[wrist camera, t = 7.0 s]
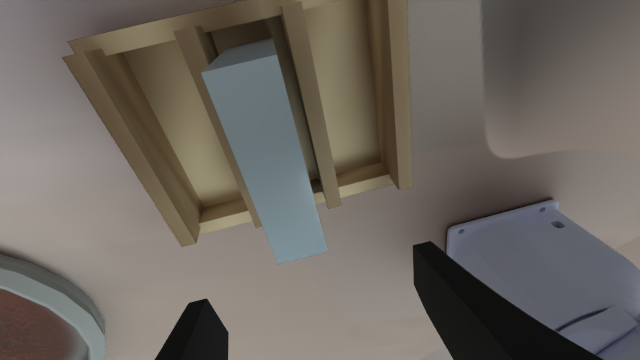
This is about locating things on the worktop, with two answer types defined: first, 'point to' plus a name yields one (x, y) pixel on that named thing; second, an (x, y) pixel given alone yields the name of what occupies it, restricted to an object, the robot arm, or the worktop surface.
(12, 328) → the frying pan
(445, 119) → the worktop surface
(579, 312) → the robot arm
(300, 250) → the upright pale blue slab
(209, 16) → the rack
